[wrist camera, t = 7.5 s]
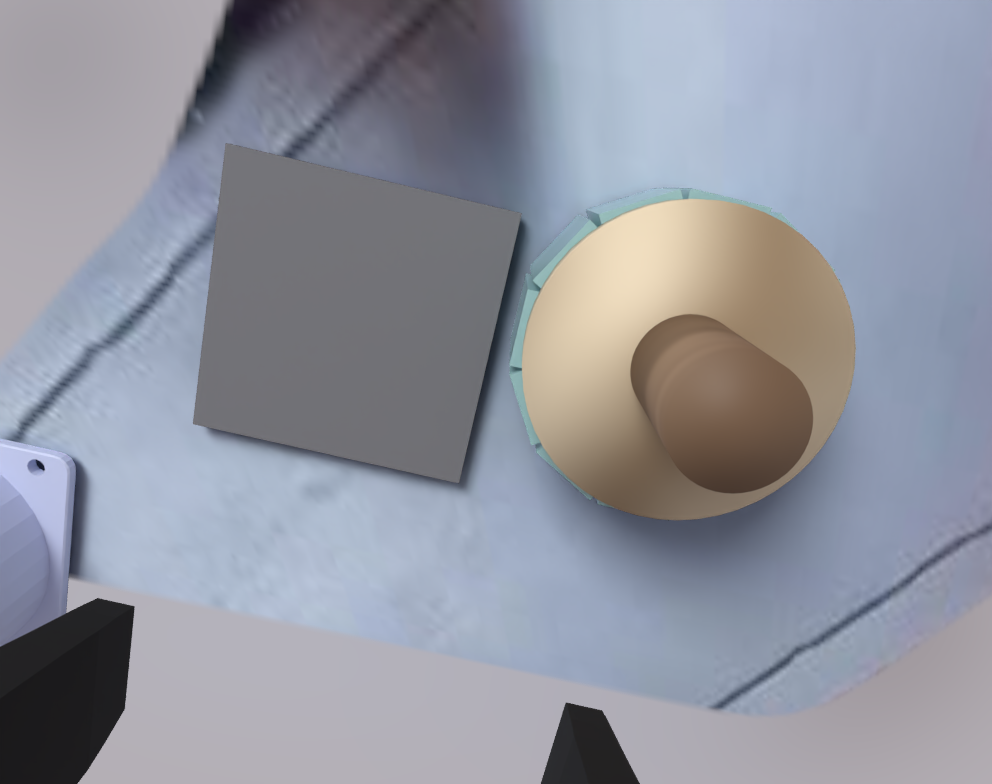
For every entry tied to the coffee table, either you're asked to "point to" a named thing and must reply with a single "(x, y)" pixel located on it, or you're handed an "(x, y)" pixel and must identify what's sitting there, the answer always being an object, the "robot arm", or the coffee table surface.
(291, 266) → the mat
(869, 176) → the coffee table surface
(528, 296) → the bowl
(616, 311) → the lid
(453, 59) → the coffee table surface
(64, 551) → the robot arm
